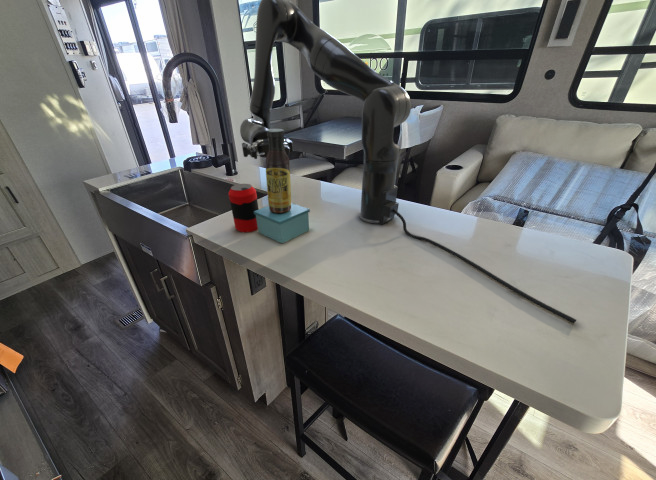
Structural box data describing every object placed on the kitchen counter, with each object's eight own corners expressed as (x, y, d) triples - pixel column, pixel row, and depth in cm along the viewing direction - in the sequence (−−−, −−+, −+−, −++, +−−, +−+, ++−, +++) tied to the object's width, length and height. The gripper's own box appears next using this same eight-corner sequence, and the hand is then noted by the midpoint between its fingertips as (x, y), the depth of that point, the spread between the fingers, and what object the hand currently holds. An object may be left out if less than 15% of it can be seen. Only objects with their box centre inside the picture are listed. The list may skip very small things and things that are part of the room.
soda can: (242, 235, 88) (234, 193, 81) (231, 226, 93) (223, 186, 86) (265, 227, 92) (260, 187, 84) (253, 219, 97) (247, 180, 89)
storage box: (310, 230, 89) (309, 209, 85) (281, 244, 83) (279, 222, 79) (285, 220, 95) (283, 199, 92) (256, 232, 89) (253, 211, 86)
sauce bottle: (267, 214, 83) (256, 132, 71) (271, 205, 88) (262, 127, 76) (291, 214, 83) (284, 131, 71) (294, 205, 88) (288, 127, 76)
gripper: (237, 130, 92) (242, 140, 80) (284, 125, 95) (296, 135, 82) (241, 156, 97) (247, 170, 84) (286, 152, 99) (298, 164, 87)
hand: (271, 153), depth 83 cm, fingers open, 8 cm apart
